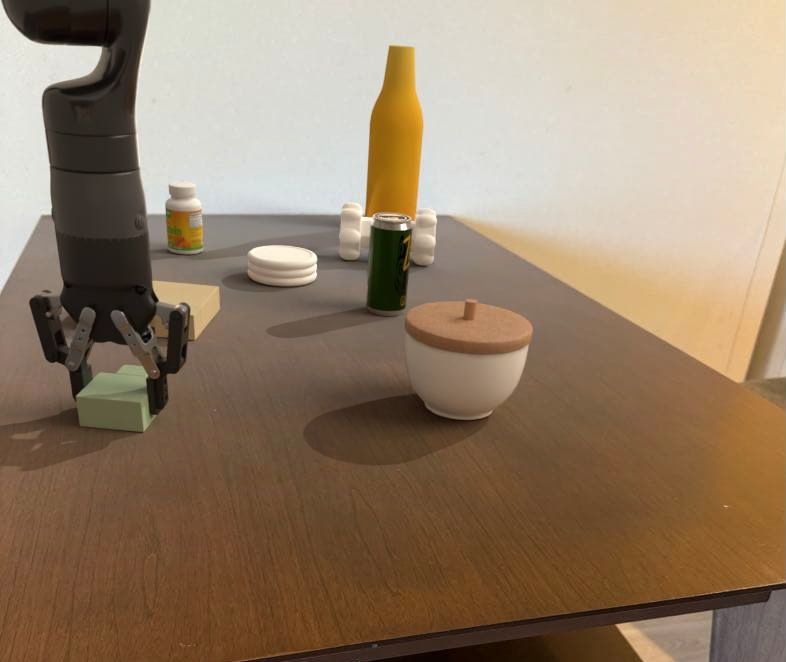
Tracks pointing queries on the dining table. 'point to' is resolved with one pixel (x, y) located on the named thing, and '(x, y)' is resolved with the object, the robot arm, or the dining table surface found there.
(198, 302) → the notch pad
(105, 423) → the pad
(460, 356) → the lidded bowl
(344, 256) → the dog bone
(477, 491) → the dining table surface
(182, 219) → the supplement bottle
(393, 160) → the beer bottle
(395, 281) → the beer can
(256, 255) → the coaster
